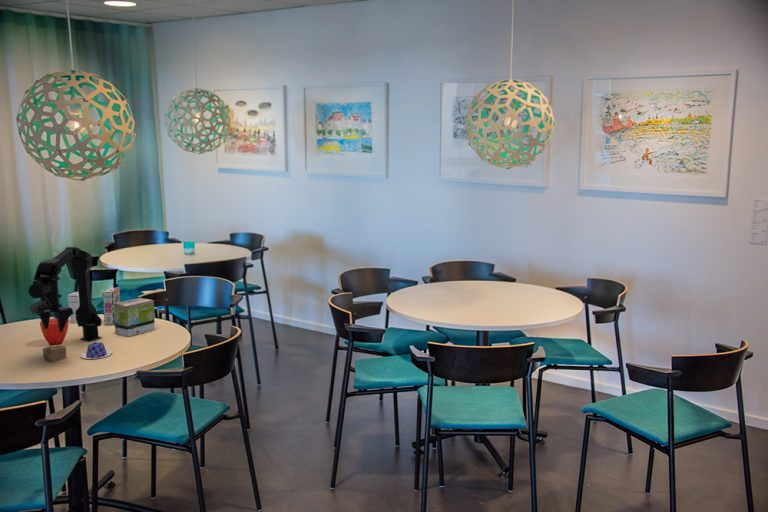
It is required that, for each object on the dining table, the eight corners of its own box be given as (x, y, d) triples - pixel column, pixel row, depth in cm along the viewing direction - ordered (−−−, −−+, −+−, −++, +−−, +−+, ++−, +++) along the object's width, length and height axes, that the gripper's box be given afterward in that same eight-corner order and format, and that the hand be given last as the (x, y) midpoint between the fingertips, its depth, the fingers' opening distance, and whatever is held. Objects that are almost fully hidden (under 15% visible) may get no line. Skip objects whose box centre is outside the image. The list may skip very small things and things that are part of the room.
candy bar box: (114, 325, 329) (112, 292, 327) (104, 325, 329) (102, 292, 326) (121, 319, 340) (119, 287, 338) (111, 319, 340) (109, 287, 337)
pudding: (85, 351, 289) (85, 340, 288) (115, 351, 291) (114, 339, 290) (76, 361, 278) (75, 348, 277) (107, 360, 279) (106, 347, 278)
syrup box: (80, 323, 332) (78, 294, 329) (69, 323, 333) (67, 294, 331) (87, 320, 337) (85, 292, 335) (77, 320, 339) (75, 291, 336)
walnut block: (43, 360, 278) (42, 347, 277) (57, 356, 283) (56, 344, 282) (53, 362, 275) (52, 350, 274) (66, 358, 280) (65, 346, 279)
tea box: (128, 337, 309) (127, 305, 307) (114, 334, 315) (112, 303, 312) (155, 330, 322) (154, 299, 320) (141, 326, 327) (140, 296, 325)
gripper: (17, 293, 272) (20, 331, 274) (47, 299, 263) (50, 338, 265) (43, 288, 281) (45, 325, 284) (72, 293, 272) (75, 331, 275)
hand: (53, 330), depth 277 cm, fingers open, 9 cm apart
